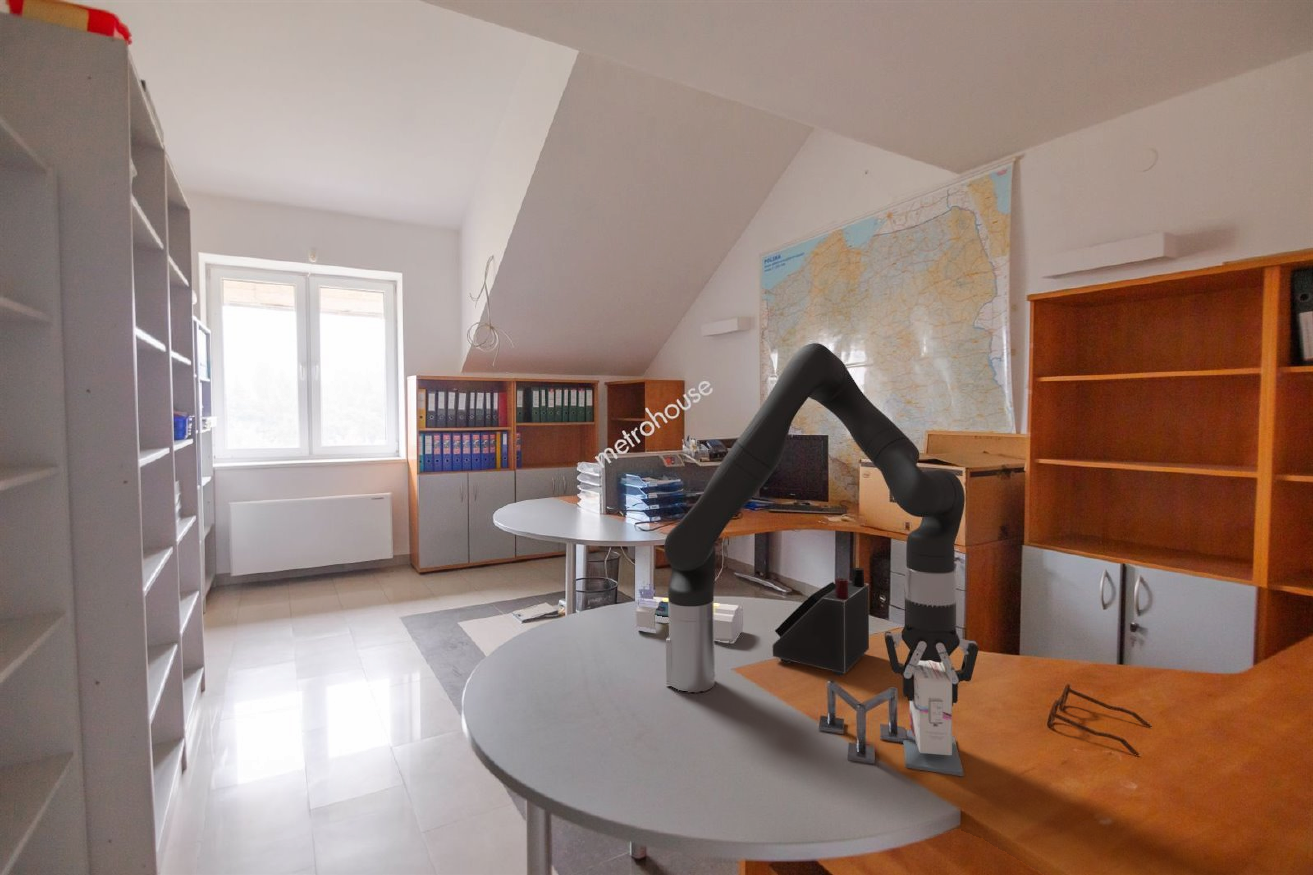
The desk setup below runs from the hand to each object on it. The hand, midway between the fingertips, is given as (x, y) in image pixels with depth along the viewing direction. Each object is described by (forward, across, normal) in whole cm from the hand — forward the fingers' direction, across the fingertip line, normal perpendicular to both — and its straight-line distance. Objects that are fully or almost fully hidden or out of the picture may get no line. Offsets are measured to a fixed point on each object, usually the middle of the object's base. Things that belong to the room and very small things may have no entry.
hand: (929, 701), depth 99 cm
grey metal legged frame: (+8, -10, 0) cm, 13 cm away
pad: (+8, 0, 0) cm, 8 cm away
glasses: (+9, +28, +17) cm, 34 cm away
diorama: (+9, -52, +43) cm, 68 cm away
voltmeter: (+9, -19, +35) cm, 41 cm away
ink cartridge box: (+7, 0, 0) cm, 7 cm away
